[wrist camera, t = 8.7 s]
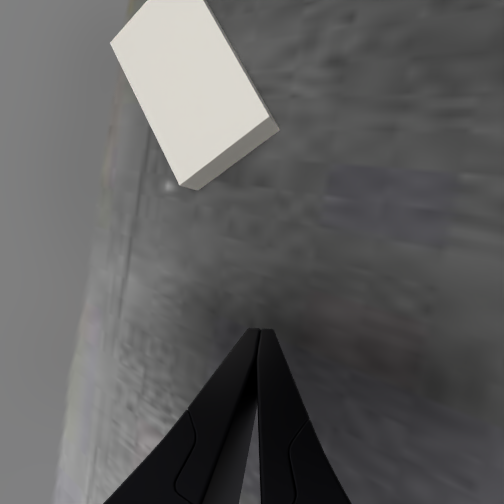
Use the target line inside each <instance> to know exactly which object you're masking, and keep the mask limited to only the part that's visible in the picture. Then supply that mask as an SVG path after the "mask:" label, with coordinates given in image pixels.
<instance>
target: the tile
mask: <svg viewBox="0 0 504 504" xmlns="http://www.w3.org/2000/svg"><path fill="white" fill-rule="evenodd" d="M110 44H111V46H112V48H113V50H114V52H115V54H116V56H117V58H118V60H119V62H120V64H121V67H122V69H123V71H124V73H125V75H126V77H127V79H128V81H129V83H130V85H131V87H132V89H133V91H134V93H135V95H136V97H137V99H138V101H139V103H140V105H141V107H142V109H143V111H144V114H145V116H146V118H147V120H148V122H149V124H150V126H151V128H152V130H153V132H154V134H155V136H156V138H157V140H158V142H159V144H160V146H161V148H162V150H163V152H164V154H165V156H166V158H167V161H168V163H169V165H170V167H171V169H172V171H173V173H174V175H175V177H176V179H177V181H178V183H179V185H180V186H184V187H187V188H190V189H194V190H197V191H198V190H199V189H201V188H202V187H204V186H205V185H206V184H208V183H209V182H210V181H212V180H213V179H214V178H216V177H217V176H218V175H220V174H221V173H223V172H224V171H225V170H227V169H228V168H229V167H231V166H232V165H233V164H235V163H236V162H237V161H239V160H240V159H241V158H243V157H244V156H246V155H247V154H248V153H250V152H251V151H252V150H254V149H255V148H256V147H258V146H259V145H260V144H262V143H263V142H264V141H266V140H267V139H269V138H270V137H271V136H273V135H274V134H275V133H277V132H278V131H279V130H280V129H279V127H278V125H277V124H276V122H275V120H274V119H273V117H272V115H271V113H270V112H269V110H268V108H267V106H266V105H265V103H264V101H263V99H262V98H261V96H260V94H259V92H258V91H257V89H256V87H255V85H254V84H253V82H252V80H251V78H250V77H249V75H248V73H247V71H246V70H245V68H244V66H243V64H242V63H241V61H240V59H239V57H238V56H237V54H236V52H235V50H234V49H233V47H232V45H231V43H230V42H229V40H228V38H227V36H226V35H225V33H224V31H223V29H222V28H221V26H220V24H219V22H218V21H217V19H216V17H215V15H214V14H213V12H212V10H211V9H210V7H209V5H208V3H207V2H206V0H147V1H146V3H145V4H144V5H143V6H142V7H141V8H140V9H139V10H138V12H137V13H136V14H135V15H134V16H133V17H132V18H131V20H130V21H129V22H128V23H127V24H126V25H125V26H124V28H123V29H122V30H121V31H120V32H119V33H118V34H117V36H116V37H115V38H114V39H113V40H112V41H111V42H110Z"/></svg>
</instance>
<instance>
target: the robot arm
mask: <svg viewBox="0 0 504 504" xmlns="http://www.w3.org/2000/svg"><path fill="white" fill-rule="evenodd" d="M257 403H258V432H259V462H260V491H261V504H351V502H350V500H349V498H348V497H347V495H346V493H345V491H344V489H343V487H342V486H341V484H340V482H339V480H338V478H337V476H336V475H335V473H334V471H333V469H332V467H331V465H330V463H329V461H328V459H327V457H326V455H325V453H324V451H323V449H322V446H321V444H320V442H319V440H318V437H317V435H316V433H315V430H314V428H313V425H312V423H311V421H310V420H309V416H308V413H307V411H306V408H305V406H304V403H303V401H302V399H301V396H300V394H299V391H298V389H297V386H296V384H295V381H294V379H293V376H292V374H291V371H290V369H289V366H288V364H287V362H286V359H285V357H284V354H283V352H282V349H281V347H280V344H279V342H278V339H277V337H276V334H275V332H274V330H273V329H261V330H260V329H259V328H249V329H247V331H246V332H245V333H244V335H243V336H242V337H241V338H240V340H239V341H238V342H237V344H236V345H235V346H234V348H233V349H232V350H231V352H230V353H229V354H228V356H227V357H226V358H225V359H224V361H223V362H222V363H221V365H220V366H219V367H218V369H217V370H216V371H215V373H214V374H213V375H212V377H211V378H210V379H209V381H208V382H207V383H206V384H205V386H204V387H203V388H202V390H201V391H200V392H199V394H198V395H197V396H196V398H195V399H194V400H193V402H192V403H191V404H190V405H189V407H188V410H186V411H185V412H184V413H183V415H182V416H181V417H180V418H179V420H178V421H177V422H176V424H175V425H174V426H173V427H172V429H171V430H170V431H169V432H168V434H167V435H166V436H165V437H164V438H163V440H162V441H161V442H160V443H159V444H158V445H157V446H156V447H155V448H154V450H153V451H152V452H151V453H150V454H149V455H148V456H147V457H146V458H145V459H144V461H143V462H142V463H141V464H140V465H139V466H138V467H137V468H136V469H135V470H134V471H133V472H132V473H131V475H130V476H129V477H128V478H127V479H126V480H125V481H124V482H123V483H122V484H121V485H120V486H119V487H118V489H117V490H116V491H115V492H114V493H113V494H112V495H111V496H110V497H109V498H108V499H107V500H106V501H105V502H104V503H103V504H239V499H240V494H241V488H242V483H243V478H244V473H245V467H246V462H247V457H248V451H249V446H250V441H251V435H252V430H253V425H254V419H255V414H256V409H257Z"/></svg>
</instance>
